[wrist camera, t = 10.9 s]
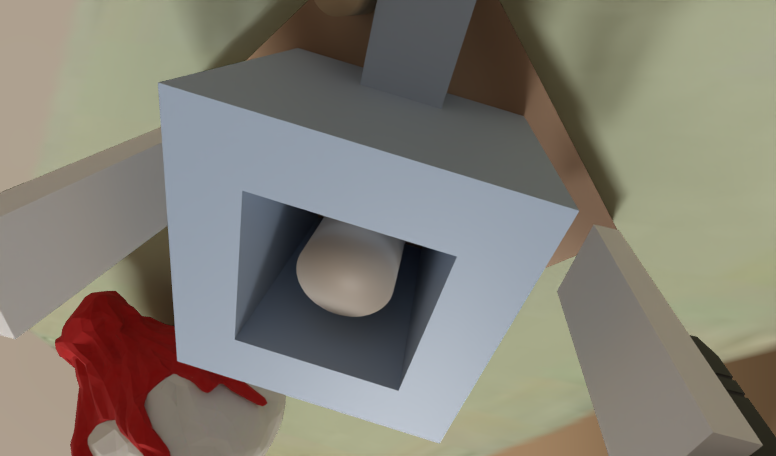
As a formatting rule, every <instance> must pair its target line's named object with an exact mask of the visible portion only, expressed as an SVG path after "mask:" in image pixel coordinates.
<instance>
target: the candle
mask: <svg viewBox="0 0 776 456" xmlns="http://www.w3.org/2000/svg"><path fill="white" fill-rule="evenodd" d="M55 346H56V350H57V352H58V354H59V356H60V357H62V358H64V359H65V360H66V361H67V362H68V363H69V364H71V365H72V366H73V367H74V368H75V372H76V377H77V381H78V384H79V393H78V401H77V411H76V420H75V429H74V434H73V437H72V440H71V444H70V445H71V454H72V456H264V455H265V454H266V452H267V450H268V449H269V447H270V446H271V444H272V442H273V440H274V438H275V436H276V434H277V432H278V430H279V427H280V425H281V422H282V419H283V414H284V409H285V402H286V395H284V394H280V393H277V392H274V391H271V390H268V389H264V388H261V387H258V386H255V385H252V384H248V383H245V382H242V381H239V380H236V379H233V378H229V377H226V376H223V375H220V374H217V373H213V372H210V371H207V370H204V369H201V368H197V367H194V366H191V365H188V364H185V363H182V362H178V361H177V351H176V336H175V326H171V325H167V324H164V323H162V322H159V321H157V320H155V319H153V318H151V317H145V316H141V315H140V314H139V313H138V311H137V310H136V309H135V308H134V307H132V306H131V305H129V304H128V303H127V302H126V300H125V299H124V298H123V297H122V296H121V295H120V294H118V293H117V292H116V291H104V292H95V293H91V294H89V295H88V296H86V297H85V298H84V299H83V301H82V302H81V304H80V305H79V306H78V308H77V309H76V310H75V311H74V313H73V314H72V315H71V316H70V318H69V319H68V320H67V321H66V323H65V325H64V327H63V329H62V334H61V336H60V337H59V338H57V339H56V340H55Z"/></svg>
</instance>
